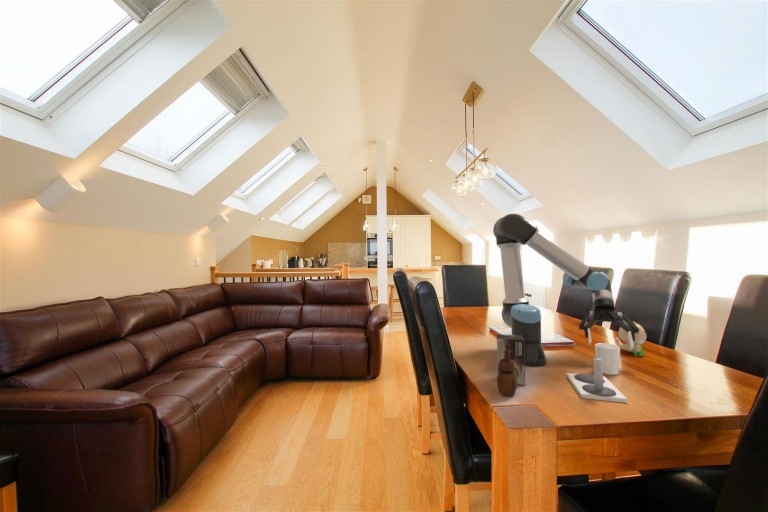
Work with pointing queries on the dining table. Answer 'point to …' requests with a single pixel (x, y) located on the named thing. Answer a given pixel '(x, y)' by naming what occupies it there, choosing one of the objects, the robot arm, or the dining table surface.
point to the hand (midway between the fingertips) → (610, 345)
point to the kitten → (639, 339)
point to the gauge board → (590, 396)
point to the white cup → (608, 357)
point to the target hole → (586, 378)
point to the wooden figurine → (506, 377)
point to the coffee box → (512, 354)
